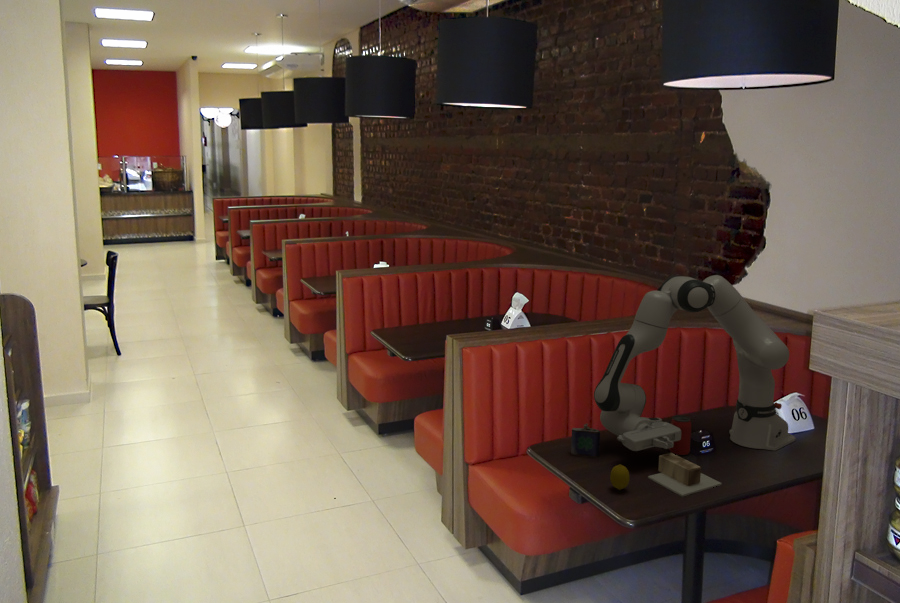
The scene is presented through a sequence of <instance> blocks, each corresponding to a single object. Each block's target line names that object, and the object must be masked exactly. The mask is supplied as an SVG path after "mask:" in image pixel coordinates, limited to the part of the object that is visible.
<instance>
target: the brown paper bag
mask: <svg viewBox="0 0 900 603" xmlns="http://www.w3.org/2000/svg"><path fill="white" fill-rule="evenodd" d="M658 472H659V473H664V474H665V475H667V476H669V477H671V478H673V479H675V480H677V481H679V482H681V483H683V484H685V485H686V486H689V485H693V484H696V483H700V476H701V473H702V468H701V466H699V465H697V463H694V462H691V461H689V460H687V459H685V458H684V457H681V456H680V455H675V454H673V453H671V452H668V453H664V454H661V455H659V456H658Z"/></svg>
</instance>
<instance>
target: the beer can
mask: <svg viewBox="0 0 900 603" xmlns="http://www.w3.org/2000/svg"><path fill="white" fill-rule="evenodd" d="M670 424H672V425H674V426H676V427H678V428H680V429H681V440H679V441H675V442H673V443H674V445H673V447H672V448H668V450H669V453H673V454H676V455H677V456H686V455H688V454H690V453H689V452H691V438H692V422H691V418H690V417H688V416H687V415H681V414H678V415H673V416H672V418H671V421H670Z"/></svg>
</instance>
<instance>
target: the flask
mask: <svg viewBox="0 0 900 603" xmlns="http://www.w3.org/2000/svg"><path fill="white" fill-rule="evenodd" d="M600 440H601V431H600V430H599V429H596V428H594V427H592V428H591V427H590V426H588V423H584V424H583V428H582V427H573V428H572V429H571V441H570V443H571V444H570V446H571V448H570V454H571V456H574V457H575V456H577V457H590V458H599V457H600V448H601V446H600Z"/></svg>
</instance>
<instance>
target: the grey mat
mask: <svg viewBox="0 0 900 603" xmlns="http://www.w3.org/2000/svg"><path fill="white" fill-rule="evenodd" d="M647 479H649V480H650V481H653V482H655V484H656V483H657V484H658V485H659V486H661V487H664V489H665V488H666V489H667V490H669V491H671V492H672V493H675V494H676V495H678V496H680V497H681V498H683V497H686V496H689V495H692V494H696V493H700V492H703V491H707V490H711V489H714V488H716V486H717V487H721V486H722V485H723V483H722V482H720V481H718V480H716V479H714V478H712V477H710V476H708V475H707V474H704V473H702V472H701V476H700V483H696V484H693V485H689V486H686V485H685V484H683V483H681V482H679V481H677V480H675V479H673V478H671V477H669V476H667V475H665V474H664V473H662V472H659V473H655V474H651V475H648V476H647ZM713 487H714V488H713Z"/></svg>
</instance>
